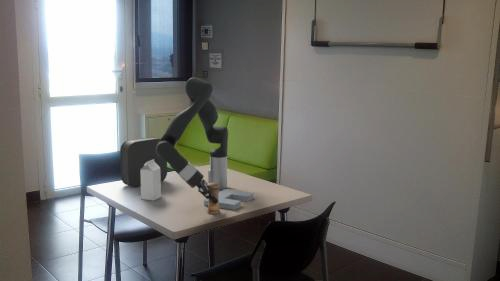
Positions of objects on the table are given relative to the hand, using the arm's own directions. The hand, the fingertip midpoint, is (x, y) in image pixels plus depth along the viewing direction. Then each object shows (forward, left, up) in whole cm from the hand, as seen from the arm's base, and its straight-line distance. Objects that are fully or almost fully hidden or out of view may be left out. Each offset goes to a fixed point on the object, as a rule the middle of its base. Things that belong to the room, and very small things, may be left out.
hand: (217, 200), depth 216 cm
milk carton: (-39, +4, -6) cm, 40 cm away
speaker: (-59, +25, -6) cm, 65 cm away
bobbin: (-1, -1, -6) cm, 6 cm away
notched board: (-2, +17, -6) cm, 18 cm away
